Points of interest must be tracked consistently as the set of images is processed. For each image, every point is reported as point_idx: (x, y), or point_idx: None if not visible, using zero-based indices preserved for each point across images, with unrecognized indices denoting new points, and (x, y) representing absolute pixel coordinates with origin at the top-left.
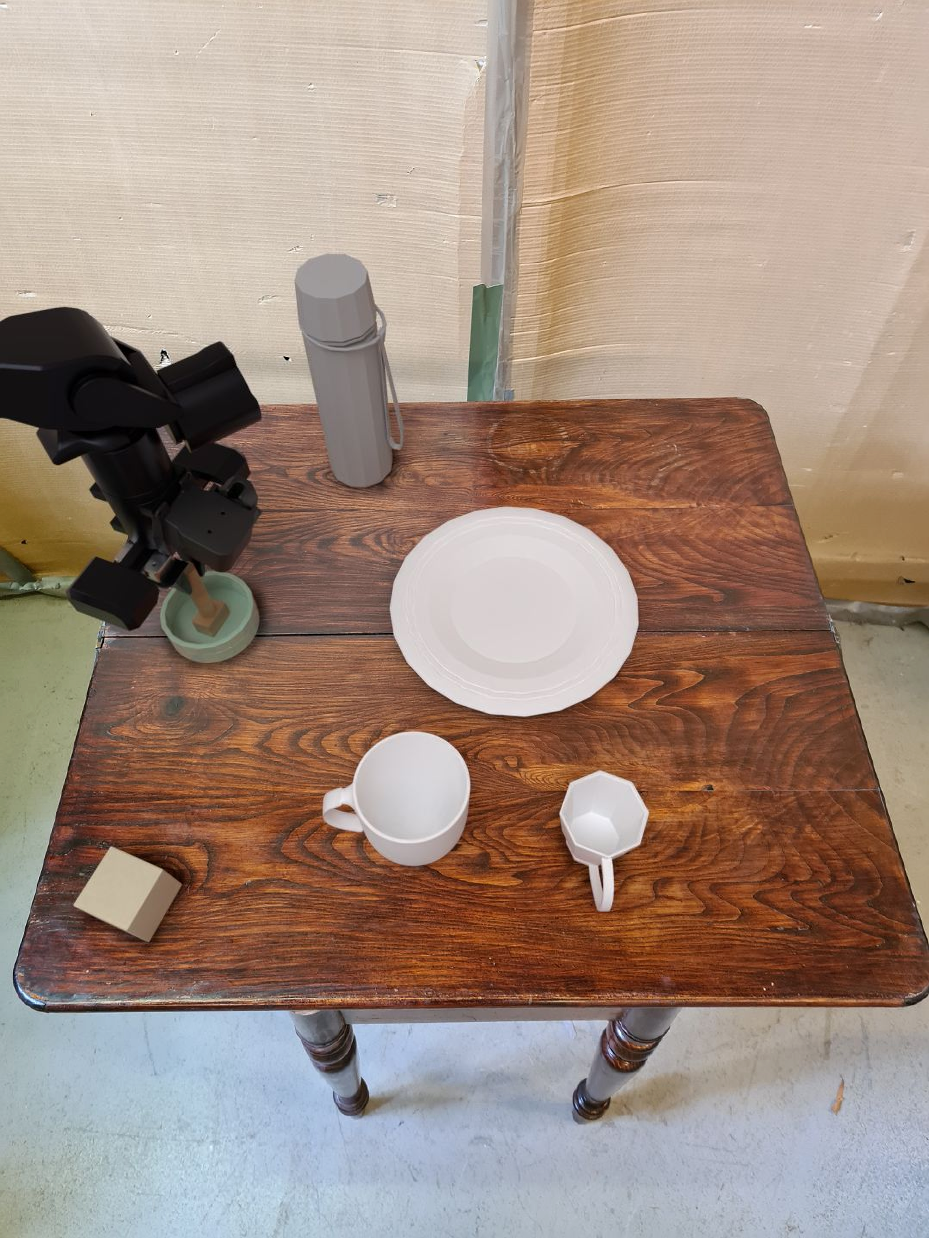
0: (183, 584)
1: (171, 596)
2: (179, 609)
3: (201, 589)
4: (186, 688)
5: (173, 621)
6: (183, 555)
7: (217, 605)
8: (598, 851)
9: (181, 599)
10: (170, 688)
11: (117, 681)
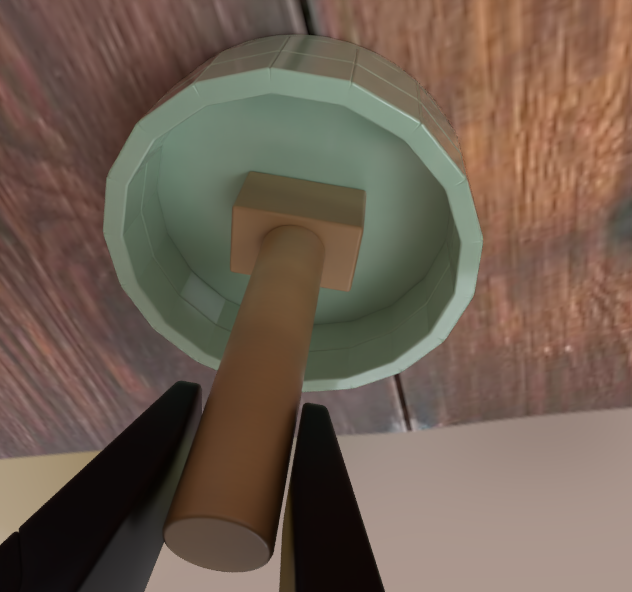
0: (349, 551)
1: None
2: None
3: (266, 361)
4: (576, 209)
5: (336, 325)
6: (142, 571)
7: (255, 230)
8: None
9: None
10: (574, 256)
11: (547, 385)
